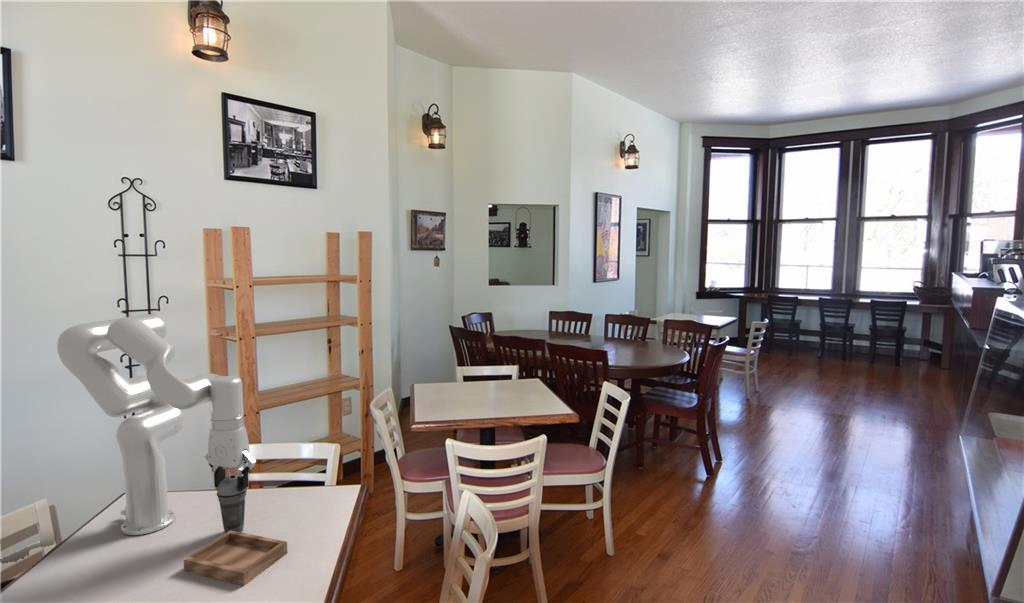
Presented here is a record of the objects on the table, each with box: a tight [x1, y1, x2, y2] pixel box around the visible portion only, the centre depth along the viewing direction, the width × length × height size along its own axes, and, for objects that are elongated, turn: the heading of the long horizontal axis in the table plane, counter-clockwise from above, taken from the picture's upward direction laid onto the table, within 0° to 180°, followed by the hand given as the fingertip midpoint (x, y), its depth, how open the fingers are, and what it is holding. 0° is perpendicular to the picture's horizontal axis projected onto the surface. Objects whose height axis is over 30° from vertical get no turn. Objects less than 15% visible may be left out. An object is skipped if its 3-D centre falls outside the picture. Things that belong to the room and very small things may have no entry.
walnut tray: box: [183, 530, 288, 586], centre depth 133 cm, size 18×14×3 cm
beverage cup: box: [216, 468, 248, 534], centre depth 146 cm, size 7×7×20 cm
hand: (231, 486), depth 146 cm, fingers open, 7 cm apart
